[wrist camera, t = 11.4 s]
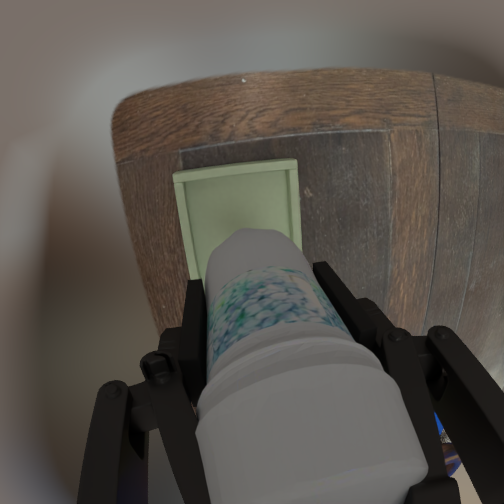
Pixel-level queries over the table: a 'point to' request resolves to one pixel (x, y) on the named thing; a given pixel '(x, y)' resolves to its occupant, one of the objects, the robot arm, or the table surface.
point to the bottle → (294, 389)
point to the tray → (235, 205)
